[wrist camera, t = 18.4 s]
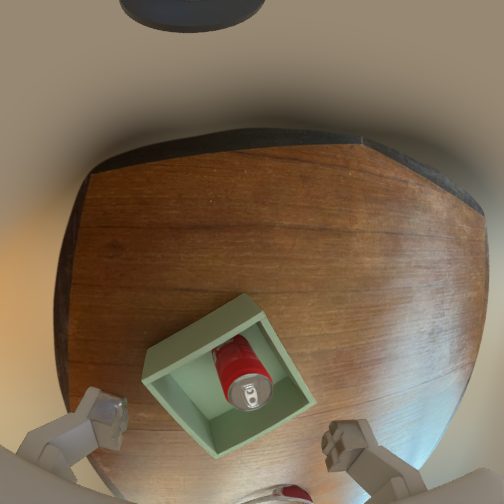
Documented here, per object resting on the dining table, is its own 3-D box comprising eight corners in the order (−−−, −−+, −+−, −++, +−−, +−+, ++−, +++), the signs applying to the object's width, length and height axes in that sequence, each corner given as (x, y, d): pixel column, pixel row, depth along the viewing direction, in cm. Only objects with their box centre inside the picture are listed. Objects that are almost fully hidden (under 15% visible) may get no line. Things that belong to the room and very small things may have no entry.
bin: (146, 349, 36) (140, 380, 28) (244, 292, 39) (262, 310, 31) (207, 422, 40) (215, 459, 31) (292, 374, 42) (316, 403, 34)
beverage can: (243, 325, 39) (270, 365, 27) (251, 358, 39) (279, 404, 28) (206, 335, 37) (219, 379, 26) (215, 368, 38) (232, 418, 27)
